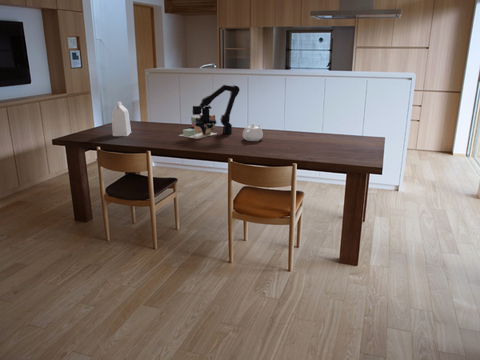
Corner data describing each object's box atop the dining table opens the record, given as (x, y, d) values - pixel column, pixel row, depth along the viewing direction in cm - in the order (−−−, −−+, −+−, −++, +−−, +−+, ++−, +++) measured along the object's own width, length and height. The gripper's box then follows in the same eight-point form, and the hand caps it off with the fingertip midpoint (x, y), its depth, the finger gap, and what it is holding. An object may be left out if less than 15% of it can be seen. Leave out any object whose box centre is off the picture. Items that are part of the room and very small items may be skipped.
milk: (127, 136, 328) (124, 103, 320) (112, 136, 328) (109, 102, 320) (131, 132, 339) (128, 100, 331) (117, 132, 340) (114, 100, 331)
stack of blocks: (191, 127, 361) (190, 113, 357) (195, 126, 366) (195, 112, 362) (211, 130, 350) (211, 115, 346) (215, 129, 355) (215, 114, 351)
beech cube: (210, 134, 329) (210, 128, 328) (206, 135, 325) (206, 129, 324) (206, 133, 332) (206, 127, 331) (201, 134, 328) (201, 128, 327)
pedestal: (195, 134, 330) (195, 129, 328) (189, 136, 324) (189, 130, 323) (189, 133, 334) (189, 128, 333) (183, 134, 329) (182, 129, 327)
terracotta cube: (203, 132, 339) (202, 125, 338) (198, 133, 335) (198, 126, 334) (198, 131, 342) (198, 125, 341) (194, 132, 338) (194, 126, 337)
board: (217, 134, 333) (217, 133, 333) (197, 139, 315) (197, 138, 315) (199, 131, 345) (199, 130, 345) (178, 136, 327) (178, 135, 327)
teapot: (255, 144, 301) (255, 127, 297) (236, 141, 308) (236, 125, 304) (268, 137, 322) (269, 121, 318) (250, 135, 329) (251, 120, 325)
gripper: (206, 111, 335) (206, 130, 340) (190, 114, 321) (190, 134, 326) (216, 113, 329) (217, 132, 334) (200, 116, 315) (201, 136, 320)
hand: (206, 134), depth 329 cm, fingers closed on beech cube, 5 cm apart
